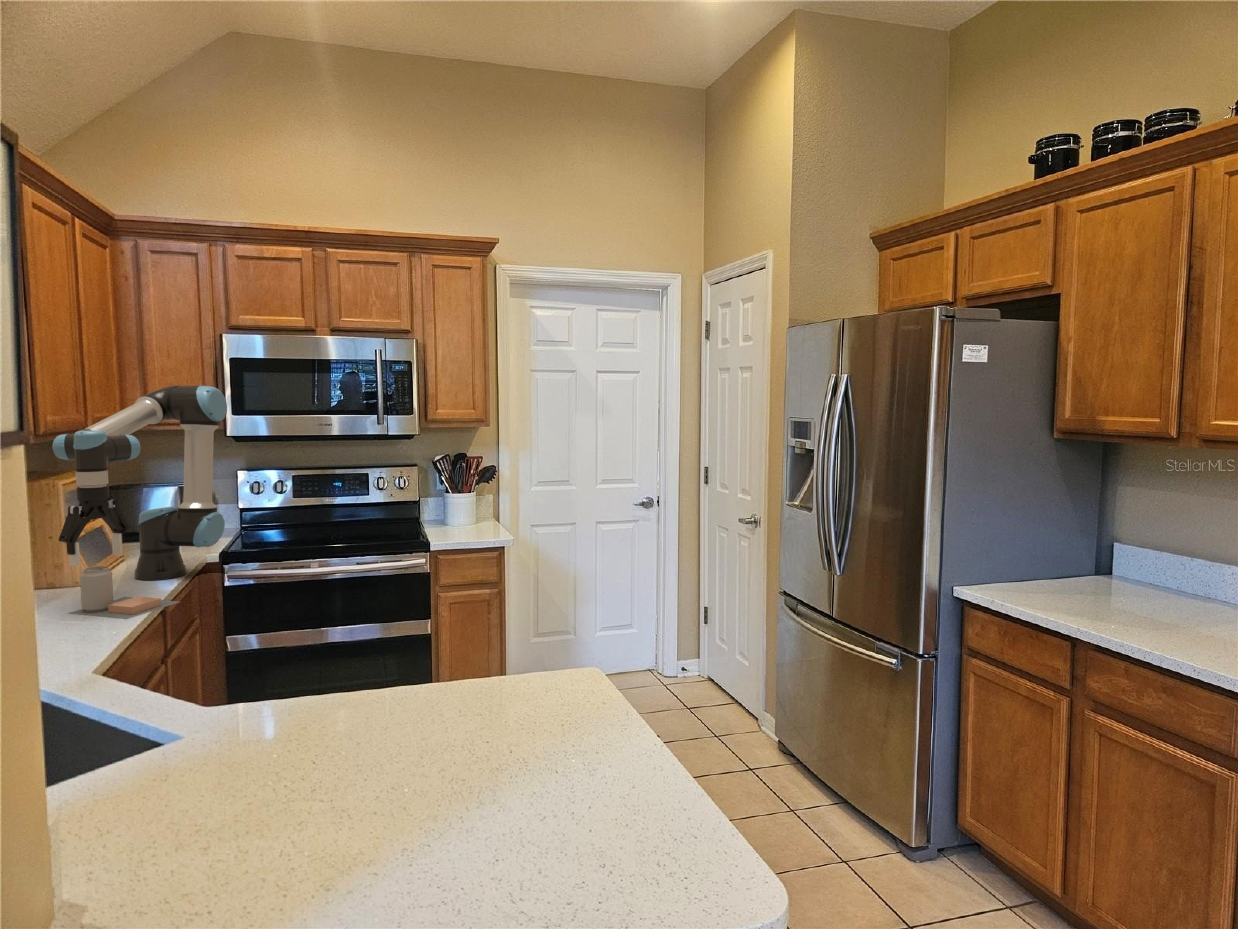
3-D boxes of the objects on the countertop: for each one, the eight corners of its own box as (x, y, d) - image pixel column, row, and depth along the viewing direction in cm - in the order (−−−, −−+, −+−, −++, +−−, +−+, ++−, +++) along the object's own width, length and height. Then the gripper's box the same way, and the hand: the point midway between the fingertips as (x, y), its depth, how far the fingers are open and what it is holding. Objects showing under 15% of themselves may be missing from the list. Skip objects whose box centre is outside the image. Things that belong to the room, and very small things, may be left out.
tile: (138, 596, 226) (108, 605, 216) (160, 598, 224) (131, 607, 214) (138, 603, 226) (108, 612, 216) (161, 605, 224) (132, 614, 215)
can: (119, 606, 223) (118, 565, 222) (100, 613, 215) (98, 571, 214) (95, 605, 223) (93, 564, 222) (74, 612, 216) (73, 570, 215)
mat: (125, 598, 233) (125, 596, 233) (181, 603, 229) (180, 601, 229) (67, 615, 215) (66, 613, 215) (126, 621, 210) (126, 619, 210)
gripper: (119, 480, 229) (123, 550, 232) (39, 491, 205) (44, 569, 207) (140, 481, 228) (144, 552, 230) (62, 492, 203) (67, 571, 206)
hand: (97, 560), depth 219 cm, fingers open, 13 cm apart
